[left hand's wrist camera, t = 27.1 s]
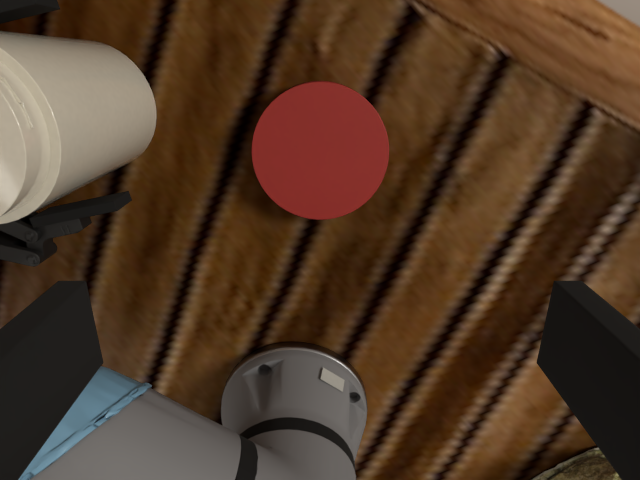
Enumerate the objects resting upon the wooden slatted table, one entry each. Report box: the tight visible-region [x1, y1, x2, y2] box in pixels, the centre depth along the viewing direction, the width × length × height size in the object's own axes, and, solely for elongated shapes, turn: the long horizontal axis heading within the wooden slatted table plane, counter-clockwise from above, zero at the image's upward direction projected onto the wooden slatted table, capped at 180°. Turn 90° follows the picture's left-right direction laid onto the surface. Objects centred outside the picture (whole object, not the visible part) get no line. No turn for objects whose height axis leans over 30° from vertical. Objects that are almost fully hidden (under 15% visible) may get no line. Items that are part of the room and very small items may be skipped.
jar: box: [0, 31, 156, 224], centre depth 29 cm, size 10×10×17 cm
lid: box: [252, 81, 389, 220], centre depth 37 cm, size 11×11×2 cm
